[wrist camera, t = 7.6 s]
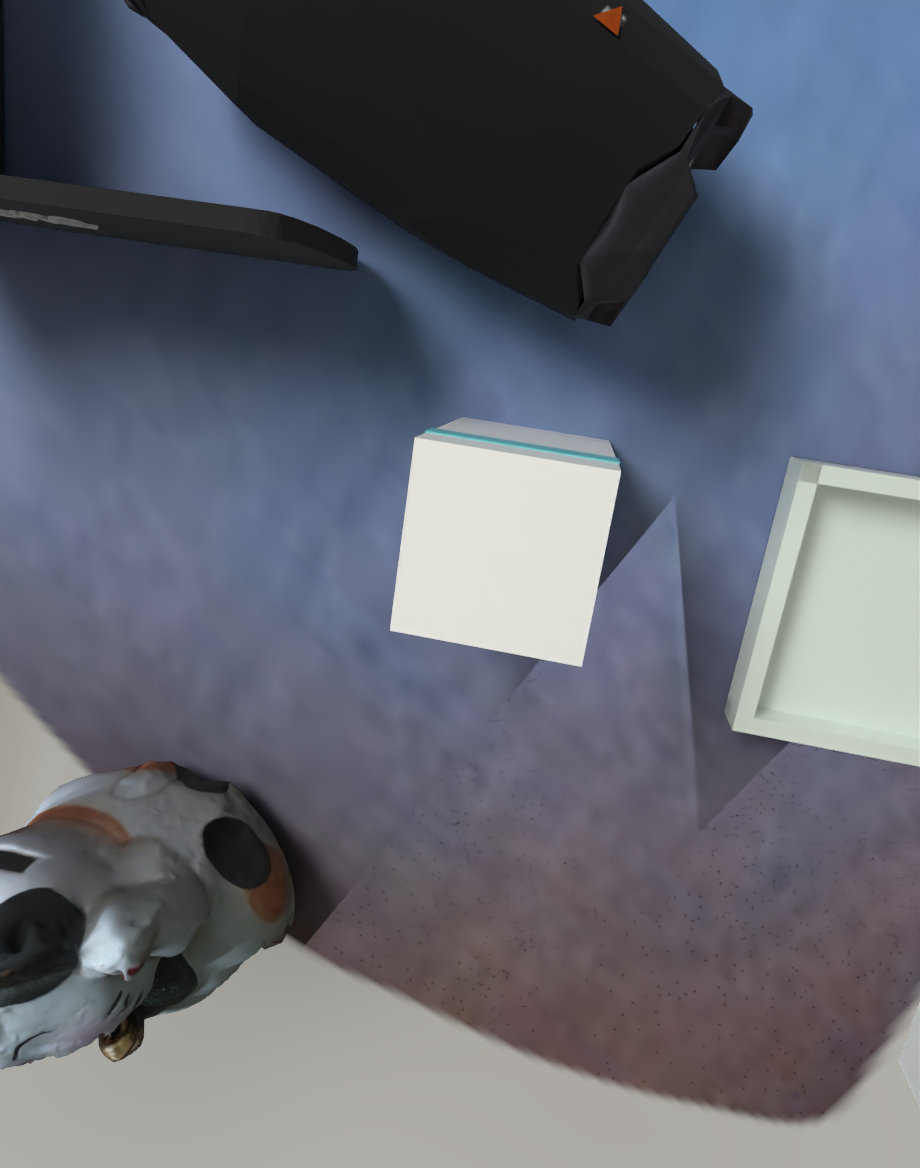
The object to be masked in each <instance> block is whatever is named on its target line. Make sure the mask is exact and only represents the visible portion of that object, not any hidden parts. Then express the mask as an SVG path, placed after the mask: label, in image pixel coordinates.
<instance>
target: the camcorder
mask: <svg viewBox="0 0 920 1168" xmlns="http://www.w3.org/2000/svg"><path fill="white" fill-rule="evenodd" d="M0 220H3V221H7V222H12V223H17V224H22V225H29V226H36V227H43V228H50V229H57V230H64V231H71V232H78V233H85V234H93V235H100V236H107V237H114V238H121V239H128V240H135V241H142V242H149V243H156V244H163V245H170V246H178V247H185V248H192V249H199V250H206V251H213V252H220V253H227V254H234V255H241V256H248V257H255V258H262V259H270V260H277V261H284V262H291V263H298V264H305V265H312V266H319V267H326V268H333V269H340V270H348V271H354V270H356V267H357V257H358V250H357V249H356V247H355V246H353V245H351V244H350V243H348V242H346V241H345V240H343V239H342V238H340V237H338V236H335V235H333V234H331V233H329V232H327V231H325V230H323V229H321V228H319V227H317V226H314V225H311V224H309V223H306V222H304V221H301V220H298V219H296V218H293V217H289V216H286V215H283V214H280V213H275V212H270V211H265V210H258V209H251V208H244V207H236V206H229V205H221V204H214V203H207V202H199V201H192V200H184V199H177V198H170V197H162V196H155V195H148V194H140V193H133V192H125V191H118V190H111V189H103V188H96V187H88V186H81V185H74V184H66V183H59V182H52V181H44V180H37V179H29V178H22V177H15V176H7V175H3V99H2V31H1V0H0Z"/></svg>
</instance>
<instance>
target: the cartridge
mask: <svg viewBox="0 0 920 1168" xmlns="http://www.w3.org/2000/svg"><path fill="white" fill-rule="evenodd" d="M619 466H620V461H619V458H616V457H615V454H614V452H613V449H612V447H611V444H610V441H609V440H603V439H597V438H591V437H584V436H578V435H572V434H566V433H559V432H553V431H547V430H541V429H535V428H528V427H522V426H516V425H510V424H504V423H497V422H491V421H485V420H479V419H472V418H466V417H461V418H459V419H457V420H454V421H452V422H450V423H447V424H445V425H443V426H440V427H438V428H430V429H428V430H425V433H424V434H422V435H419V436H417V437H415V440H414V447H413V455H412V463H411V471H410V478H409V486H408V494H407V502H406V509H405V517H404V525H403V532H402V540H401V548H400V556H399V563H398V571H397V579H396V587H395V594H394V602H393V610H392V618H391V625H390V631H395V632H401V633H406V634H411V635H416V636H422V637H427V638H432V639H438V640H443V641H448V642H453V643H459V644H464V645H469V646H475V647H480V648H485V649H490V650H496V651H501V652H506V653H512V654H517V655H522V656H527V657H533V658H538V659H543V660H548V661H554V662H559V663H564V664H570V665H575V666H580V667H582V663H583V658H584V653H585V648H586V643H587V638H588V633H589V628H590V623H591V618H592V614H593V609H594V604H595V599H596V594H597V589H598V584H599V579H600V574H601V569H602V564H603V559H604V554H605V549H606V545H607V540H608V535H609V530H610V525H611V520H612V515H613V510H614V505H615V500H616V495H617V490H618V485H619V480H620V476H621V469H620V467H619Z"/></svg>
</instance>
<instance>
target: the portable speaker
mask: <svg viewBox="0 0 920 1168" xmlns="http://www.w3.org/2000/svg"><path fill="white" fill-rule="evenodd" d="M124 1H125V2H126V4H127V6H128V7H129V8H130V9H131V10H133V11H135V12H136V13H138V14H139V15H141V16H143V17H144V16H145V17H146V18H147V19H148V20H149V21H151V22H152V23H153V24H154V25H155V26H157V27H158V28H159V29H160V30H162V31H163V32H164V33H165V34H167V35H168V36H169V38H170V39H171V40H172V41H173V42H174V43H175V44H176V45H177V46H178V47H179V48H180V49H181V50H182V51H183V52H184V53H185V54H186V55H187V56H188V57H189V58H190V59H191V60H192V61H193V62H194V63H195V64H196V65H197V66H198V67H199V68H200V69H201V70H202V71H203V72H204V73H205V74H206V75H207V76H208V77H209V78H210V79H211V80H212V81H213V82H214V83H215V84H216V86H217V87H218V88H219V89H220V90H221V91H222V92H223V93H224V94H225V95H226V96H227V97H228V98H229V99H230V100H231V101H232V102H233V103H234V104H235V105H236V106H237V107H238V108H239V109H240V110H241V111H242V112H243V113H244V114H245V115H246V116H247V117H248V118H249V119H250V120H251V121H252V122H253V123H255V124H256V125H257V126H258V127H259V128H261V129H262V130H264V131H265V132H267V133H268V134H269V135H271V136H272V137H274V138H275V139H276V140H278V141H279V142H281V143H282V144H284V145H285V146H286V147H288V148H289V149H291V150H292V151H294V152H295V153H296V154H298V155H299V156H301V157H302V158H304V159H305V160H306V161H308V162H309V163H311V164H312V165H313V166H315V167H316V168H318V169H319V170H321V171H322V172H323V173H325V174H326V175H328V176H329V177H331V178H332V179H333V180H335V181H336V182H338V183H339V184H341V185H342V186H343V187H345V188H346V189H348V190H349V191H350V192H352V193H353V194H355V195H356V196H358V197H359V198H360V199H362V200H363V201H365V202H366V203H368V204H369V205H370V206H372V207H373V208H375V209H376V210H378V211H379V212H380V213H382V214H383V215H385V216H386V217H387V218H389V219H390V220H392V221H393V222H395V223H396V224H397V225H399V226H400V227H402V228H403V229H405V230H406V231H407V232H409V233H411V234H412V235H414V236H416V237H418V238H419V239H421V240H423V241H424V242H426V243H428V244H430V245H431V246H433V247H435V248H436V249H438V250H440V251H442V252H443V253H445V254H447V255H448V256H450V257H452V258H454V259H455V260H457V261H459V262H460V263H462V264H464V265H466V266H467V267H469V268H471V269H473V270H475V271H477V272H479V273H481V274H483V275H485V276H487V277H489V278H491V279H493V280H495V281H497V282H499V283H501V284H503V285H505V286H507V287H509V288H511V289H513V290H515V291H517V292H519V293H521V294H522V295H524V296H526V297H528V298H530V299H532V300H534V301H536V302H538V303H540V304H542V305H544V306H546V307H548V308H550V309H552V310H554V311H556V312H558V313H560V314H562V315H564V316H566V317H568V318H570V319H572V320H574V321H575V319H576V318H580V319H587V320H590V321H593V322H597V323H600V324H604V325H607V326H611V324H612V323H613V322H614V320H615V319H616V318H617V316H618V315H619V313H620V312H621V311H622V309H623V308H624V306H625V305H626V304H627V302H628V301H629V300H630V298H631V297H632V295H633V294H634V292H635V291H636V290H637V288H638V287H639V285H640V284H641V283H642V281H643V280H644V279H645V277H646V276H647V274H648V272H649V270H650V268H651V266H652V265H653V263H654V262H655V260H656V259H657V257H658V256H659V254H660V253H661V251H662V250H663V248H664V247H665V245H666V244H667V242H668V241H669V239H670V237H671V236H672V234H673V233H674V231H675V230H676V228H677V227H678V225H679V224H680V222H681V221H682V219H683V218H684V216H685V215H686V213H687V212H688V210H689V209H690V207H691V206H692V204H693V203H694V201H695V200H696V198H697V197H698V194H697V191H696V187H695V184H694V180H693V177H692V173H691V169H706V170H716V169H717V168H718V167H719V165H720V164H721V163H722V162H723V160H724V159H725V158H726V156H727V155H728V154H729V152H730V151H731V150H732V149H733V147H734V146H735V145H736V143H737V142H738V141H739V139H740V137H741V135H742V133H743V132H744V130H745V128H746V126H747V124H748V123H749V121H750V119H751V117H752V115H753V111H752V107H750V106H749V105H748V104H746V103H745V102H744V101H742V100H741V99H740V98H738V97H737V96H736V95H734V94H733V93H732V92H730V91H729V90H728V89H727V88H725V87H724V85H723V83H722V80H721V78H720V75H719V73H718V70H717V69H716V68H714V67H713V66H712V65H711V64H710V63H709V62H708V61H707V60H706V59H705V58H704V57H703V56H702V55H701V54H700V53H699V52H697V51H696V50H695V49H694V48H693V47H692V46H691V45H690V44H689V43H688V42H687V41H686V40H685V39H684V38H683V37H681V36H680V35H679V34H678V33H677V32H676V31H675V30H674V29H673V28H672V27H671V26H670V25H669V24H668V23H667V22H666V21H664V20H663V19H662V18H661V17H660V16H659V15H658V14H657V13H656V12H655V11H654V10H653V9H652V8H651V7H650V6H648V5H647V4H646V3H645V2H644V1H643V0H124ZM145 17H144V18H145ZM696 122H697V124H696V126H695V128H694V129H693V126H694V125H695V123H696Z"/></svg>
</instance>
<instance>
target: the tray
mask: <svg viewBox="0 0 920 1168" xmlns="http://www.w3.org/2000/svg"><path fill="white" fill-rule="evenodd" d="M724 712H725V715H726V717H727V720H728V722H729V724H730V727H731V729H732V730H733V731H738V732H743V733H748V734H753V735H759V736H764V737H769V738H774V739H779V740H785V741H790V742H795V743H800V744H805V745H811V746H816V747H821V748H826V749H831V750H837V751H842V752H847V753H852V754H857V755H863V756H868V757H873V758H878V759H883V760H889V761H894V762H899V763H904V764H909V765H914V766H920V477H917V476H911V475H905V474H898V473H892V472H886V471H879V470H873V469H867V468H861V467H854V466H848V465H842V464H835V463H829V462H823V461H816V460H810V459H804V458H797V457H791V456H790V459H789V463H788V467H787V471H786V475H785V478H784V482H783V486H782V490H781V494H780V498H779V502H778V505H777V509H776V513H775V517H774V521H773V525H772V529H771V532H770V536H769V540H768V544H767V548H766V552H765V555H764V559H763V563H762V567H761V571H760V575H759V579H758V582H757V586H756V590H755V594H754V598H753V602H752V605H751V609H750V613H749V617H748V621H747V625H746V629H745V632H744V636H743V640H742V644H741V648H740V652H739V655H738V659H737V663H736V667H735V671H734V675H733V679H732V682H731V686H730V690H729V694H728V698H727V702H726V705H725V709H724Z"/></svg>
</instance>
